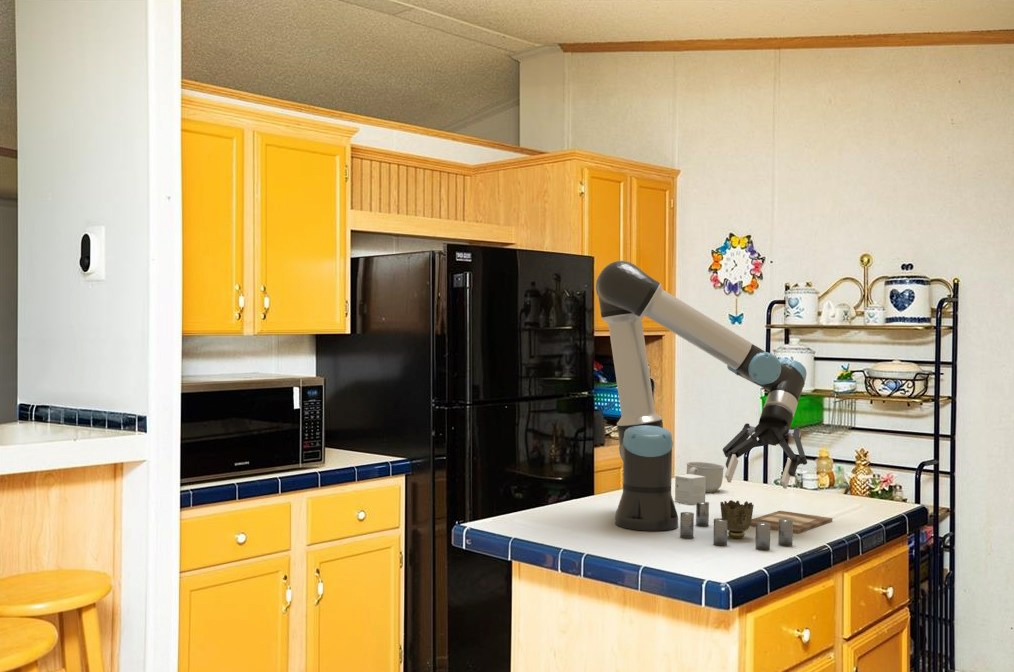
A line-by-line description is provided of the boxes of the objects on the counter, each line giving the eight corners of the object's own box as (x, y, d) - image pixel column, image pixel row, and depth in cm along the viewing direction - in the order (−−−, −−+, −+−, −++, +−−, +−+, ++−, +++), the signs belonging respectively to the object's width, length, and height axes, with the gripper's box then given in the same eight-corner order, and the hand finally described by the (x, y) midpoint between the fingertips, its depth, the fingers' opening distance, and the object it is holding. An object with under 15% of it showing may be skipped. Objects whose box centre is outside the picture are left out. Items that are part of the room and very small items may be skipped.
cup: (714, 538, 221) (715, 503, 221) (726, 532, 227) (727, 498, 227) (746, 542, 217) (747, 507, 217) (757, 537, 223) (758, 502, 223)
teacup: (701, 486, 294) (702, 460, 294) (731, 491, 285) (731, 464, 285) (671, 491, 285) (671, 463, 285) (700, 496, 276) (701, 468, 276)
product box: (674, 501, 267) (674, 475, 267) (688, 499, 271) (688, 473, 271) (691, 505, 263) (692, 478, 262) (706, 502, 266) (706, 476, 266)
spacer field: (710, 552, 206) (711, 527, 206) (657, 525, 234) (657, 502, 234) (801, 548, 212) (801, 523, 212) (738, 522, 239) (739, 500, 239)
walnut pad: (798, 533, 228) (798, 529, 228) (743, 524, 237) (743, 521, 237) (832, 521, 243) (832, 517, 243) (779, 513, 252) (779, 510, 252)
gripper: (832, 426, 235) (811, 497, 223) (734, 419, 249) (709, 486, 237) (825, 406, 230) (804, 477, 218) (726, 400, 245) (701, 467, 233)
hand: (755, 482), depth 228 cm, fingers open, 13 cm apart
